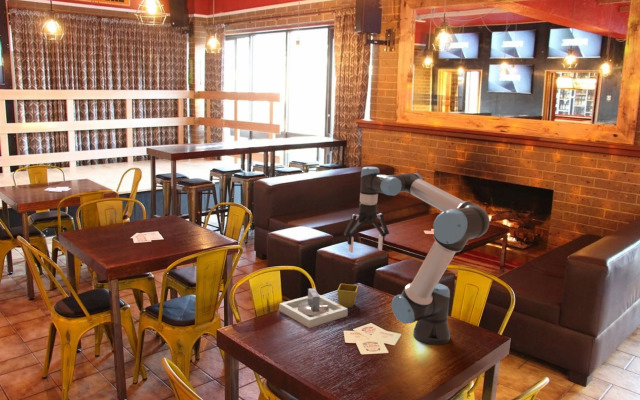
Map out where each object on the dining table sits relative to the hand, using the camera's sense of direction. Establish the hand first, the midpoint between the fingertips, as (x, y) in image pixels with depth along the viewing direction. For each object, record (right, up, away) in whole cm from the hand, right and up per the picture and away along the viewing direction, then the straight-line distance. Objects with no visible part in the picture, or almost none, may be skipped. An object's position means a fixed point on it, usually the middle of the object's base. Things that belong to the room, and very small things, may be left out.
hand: (365, 250), depth 247 cm
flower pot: (-7, -28, +21) cm, 36 cm away
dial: (-23, -28, +10) cm, 37 cm away
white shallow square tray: (-23, -29, +11) cm, 39 cm away
